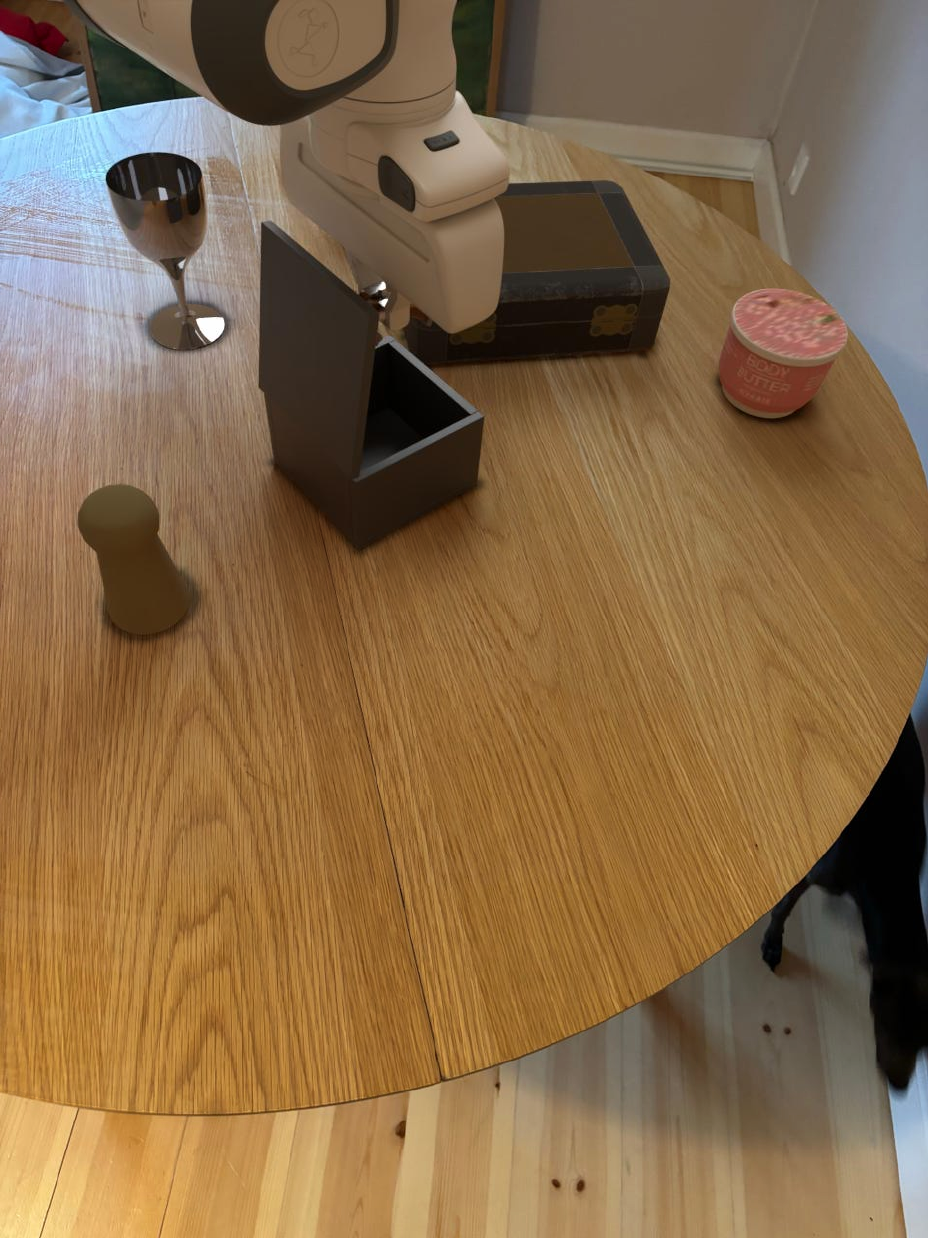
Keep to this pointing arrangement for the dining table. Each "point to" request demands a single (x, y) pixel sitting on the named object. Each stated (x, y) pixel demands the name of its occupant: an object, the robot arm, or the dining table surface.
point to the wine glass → (166, 235)
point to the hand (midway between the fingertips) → (384, 315)
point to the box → (389, 451)
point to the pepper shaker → (133, 560)
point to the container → (778, 351)
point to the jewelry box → (562, 280)
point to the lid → (315, 348)
